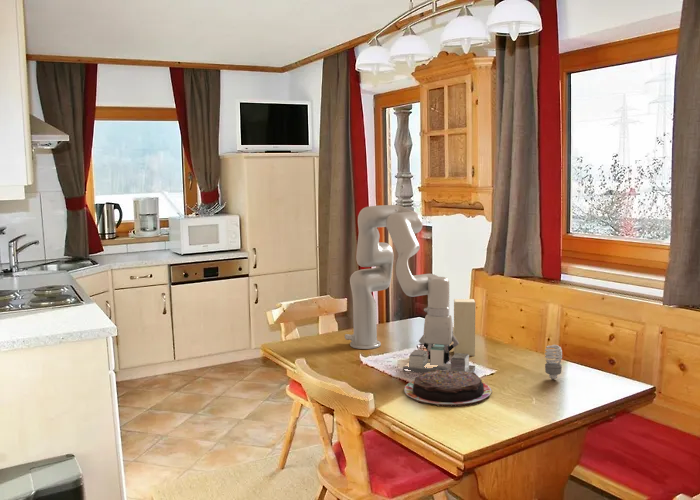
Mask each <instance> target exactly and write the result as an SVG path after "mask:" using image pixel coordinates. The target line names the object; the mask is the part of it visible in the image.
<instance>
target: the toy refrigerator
mask: <svg viewBox="0 0 700 500" xmlns="http://www.w3.org/2000/svg"><path fill="white" fill-rule="evenodd" d="M453 334H454V336H455V338H456V339H457V341H458V342H459V344H458V345H457V346H456V347H454V348H453V353H454V354H455V353H464V354H468V355H469V357H470V356H473V357H474V356H476V301H475V299H474V298H454V299H453ZM454 354H453V355H454Z"/></svg>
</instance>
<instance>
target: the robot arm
mask: <svg viewBox="0 0 700 500" xmlns="http://www.w3.org/2000/svg"><path fill="white" fill-rule="evenodd" d="M423 226H424V225H423V220H422V218H421V216H420V215H419V213H418V212H416V211H414V210H411V209H409V208H407V207H404V206H402V205H398V204H386V205H382V204H381V205H369V206H365V207H363V208H362V209H360V211H359V213H358V215H357V227H358V236H357V246H356V258H355V259H356V262H357V263H356V264H357V265H358V266H360V267H361V268H364V269H359V270H356V271H354V272H353V273H352V274H351V275H350V277H349V284H350V289H351V295H352V317H353V318H352V320H353V322H352V323H353V333H352V334H347V333H345V334H344V339H345V341H346V340H347V341H349V340H350V343H349V345H350V347H351V348H353V349H359V350H371V349H376V348H379V347H380V346H381V344H382V343H381V341H380V340H378V338H377V337H378V336H377V335H378V334H377V333H378V331H377V330H378V327H377V326H378V324H377V301H376V299H375V297H374V296H373V294H372V293H373V292H379V291H384V290H387V289H388V288H389V287H390V285H391V282H392V277H393V267H394V258H395V256H394V254H395V253H394V250H393V247H392V246H391V245H390V244H389V243H387V242H384V241H383V242H380V236H381V235H380V232H379V229H378V228H386V229H387V232H388V234H389V235H390V239H391V240H392V243H393V244H394V247H395V250H396V252H397V256H398V257H397V258H396V259H397V260H396V263H395V274H396V279H397V282H398V283H399V285H400V288H401V290H402V292H403V293H404V294H405V295H406V297H407V296H408V297H410V298H411V297H412V298H413V297H420V296H427V307H424V308H423V311H424V312H425V313H427V314H426V315H425V317H424V324H423V335H422V336H421V337H420V338H419V339H418V342H419V344H421V345H423V346H424V348H425V349H426V351H427V352H428V360H430V350H431V348H432V347H433V346H434V345H435V344H436V345H444V348H445V353H444V363H445V364H446V363H448V362H450V352H451V351H452V349H453V350H454V347H456V346H457V345H458V344H459V342H458V341H457V339H456V338H455V336H454V322H453V319H452V315H451V314H450V280H449V278H448V277H445V276H438V275H436V274H434V273H423V274H416V275H414V274H412V272H411V270H410V267H409V259H410V258H411V257H413V256H415V255H416V254H417V253H418V252H419V251H420V247H421V246H420V243H419V241H418V239H417V236H416V234H418V233H420V232H421V231H422V229H423Z"/></svg>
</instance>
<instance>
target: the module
mask: <svg viewBox="0 0 700 500" xmlns="http://www.w3.org/2000/svg"><path fill="white" fill-rule="evenodd" d="M444 353H445V348H444V345H436V344H433V347H432V348H431V350H430V359H429V362H430V365H438V366H443V365H444V364H445V363H444Z"/></svg>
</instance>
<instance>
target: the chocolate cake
mask: <svg viewBox="0 0 700 500" xmlns="http://www.w3.org/2000/svg"><path fill="white" fill-rule="evenodd" d="M492 391H493V390H492V387H490V386H489V385H488V384H486V383H484V382H482V379H481V378H480V377H479V375H478V374H477V373H475V371H474V372H472V373H468V372H461V371H448V369H447V370H431V371H429V372H426V373H421V374H419V375H417V376H416V377H415V379H414V380H412V381H410V382H408V383H407V384H406V385H405V386H404V389H403V392H404V394H405V396H407V397H408V398H410V399H413V400H415V401H416V402H418V403H419V404H431V405H436V406H439V407H465V406H467V407H468V406H471V405H472V404H479V403H482V402H483V401H484V400H487V399H490V396H491V394H492Z"/></svg>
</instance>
